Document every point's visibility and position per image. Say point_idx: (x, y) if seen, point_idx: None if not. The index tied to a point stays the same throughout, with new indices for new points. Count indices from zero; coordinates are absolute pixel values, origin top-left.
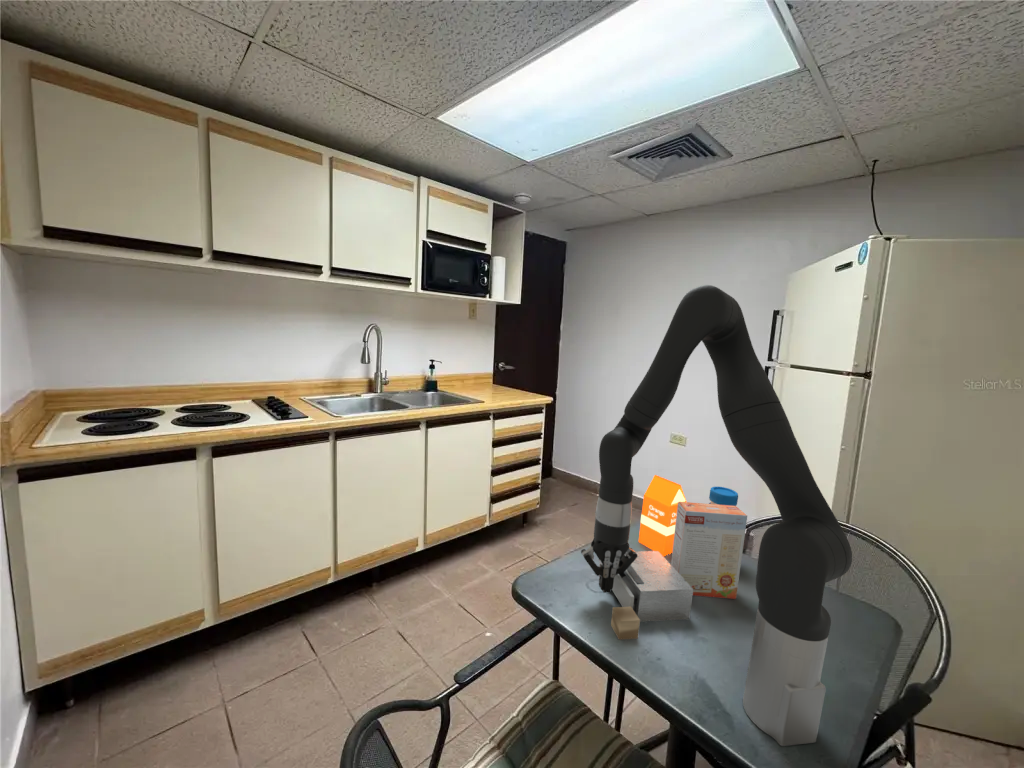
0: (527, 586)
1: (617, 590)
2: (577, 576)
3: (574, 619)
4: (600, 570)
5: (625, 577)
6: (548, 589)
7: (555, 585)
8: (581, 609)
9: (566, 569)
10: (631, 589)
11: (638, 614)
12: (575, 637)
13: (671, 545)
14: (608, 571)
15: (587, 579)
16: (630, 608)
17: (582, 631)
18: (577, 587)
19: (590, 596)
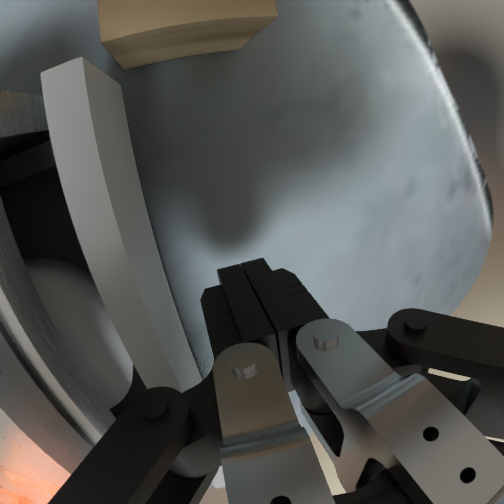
0: (472, 273)
1: (162, 291)
2: None
3: (402, 99)
4: (395, 363)
5: (106, 401)
6: (433, 275)
7: (407, 304)
8: (363, 166)
9: None
10: (61, 300)
11: None
12: (408, 7)
13: None
14: (322, 380)
15: None
16: (117, 15)
17: (382, 27)
18: (335, 318)
19: (295, 271)
